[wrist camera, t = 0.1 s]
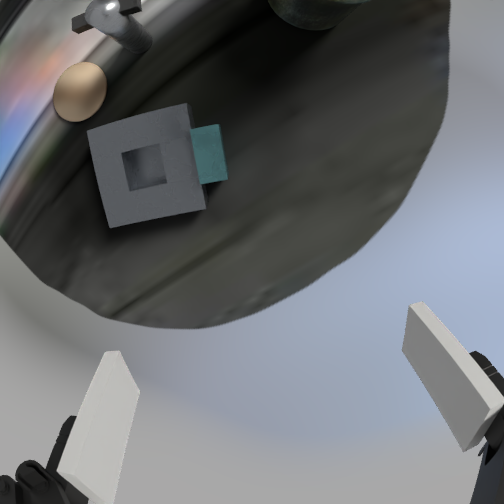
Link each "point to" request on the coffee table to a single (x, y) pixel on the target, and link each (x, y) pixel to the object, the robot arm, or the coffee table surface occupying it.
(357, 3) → the mug
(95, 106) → the coaster
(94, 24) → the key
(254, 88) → the coffee table surface
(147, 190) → the block
